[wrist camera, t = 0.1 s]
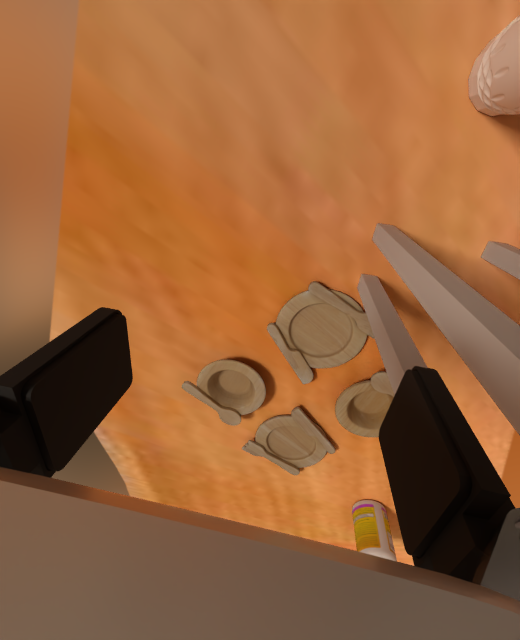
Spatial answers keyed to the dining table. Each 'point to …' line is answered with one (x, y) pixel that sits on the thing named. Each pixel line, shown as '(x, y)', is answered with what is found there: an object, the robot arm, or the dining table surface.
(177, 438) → the dining table surface
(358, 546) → the supplement bottle
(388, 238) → the grey tall stool
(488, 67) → the white cup
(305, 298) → the tableware set
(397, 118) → the dining table surface
